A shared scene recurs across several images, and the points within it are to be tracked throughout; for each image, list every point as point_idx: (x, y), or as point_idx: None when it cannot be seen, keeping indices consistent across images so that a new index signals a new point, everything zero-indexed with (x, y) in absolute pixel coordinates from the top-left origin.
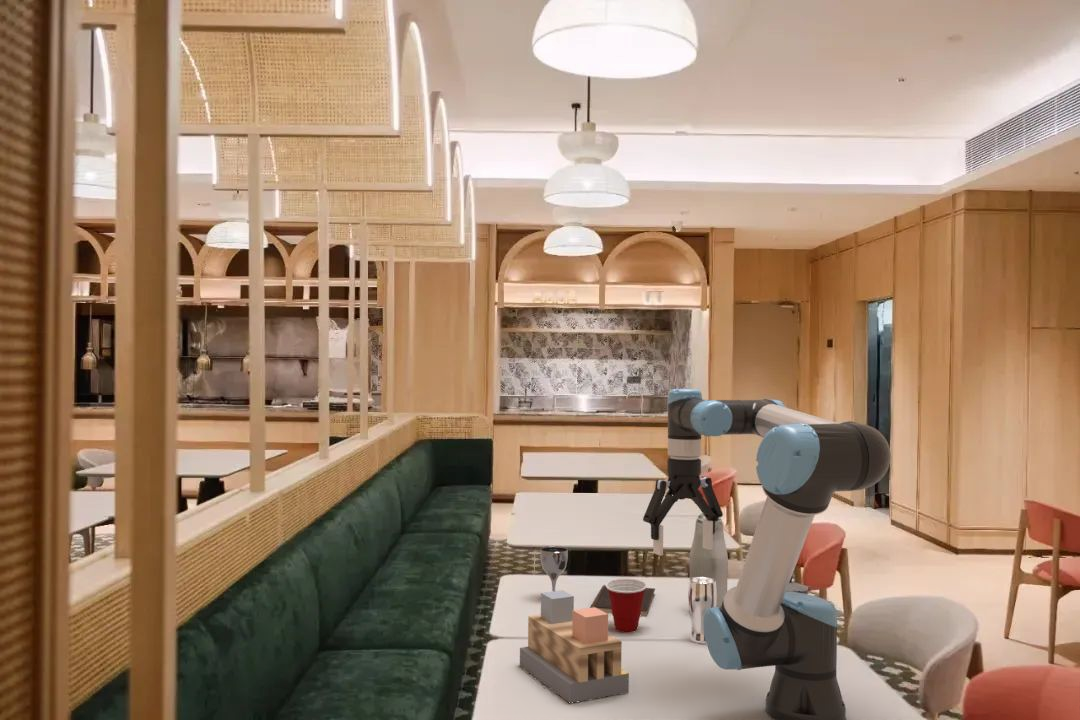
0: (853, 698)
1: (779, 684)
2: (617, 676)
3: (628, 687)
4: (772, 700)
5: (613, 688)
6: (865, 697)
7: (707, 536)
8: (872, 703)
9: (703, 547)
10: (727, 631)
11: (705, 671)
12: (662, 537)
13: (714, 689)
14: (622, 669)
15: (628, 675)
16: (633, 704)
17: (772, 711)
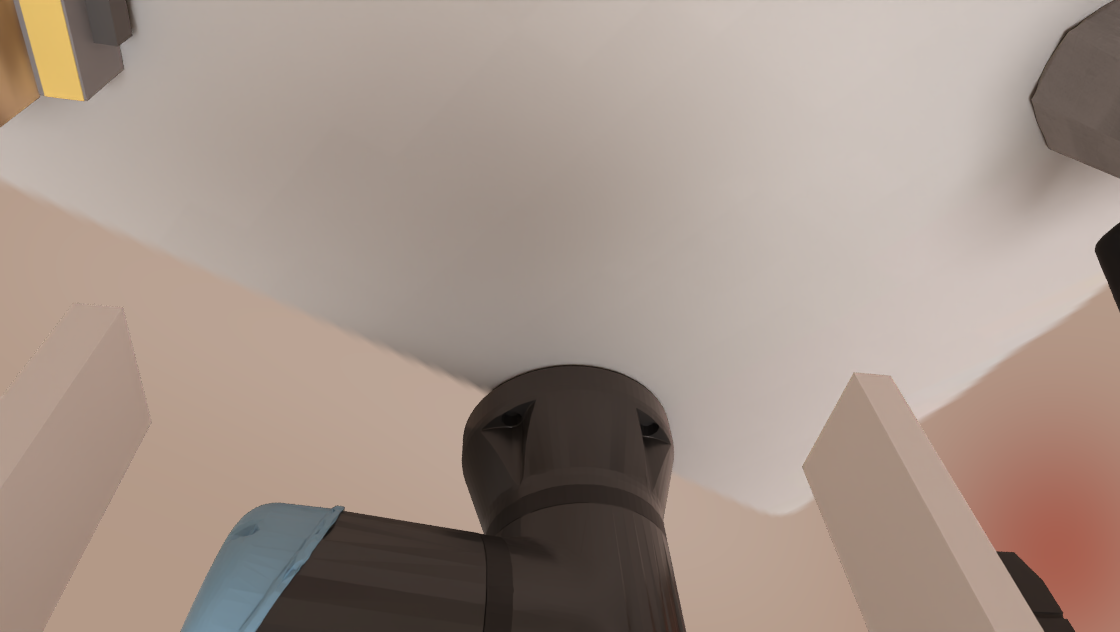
0: (763, 439)
1: (481, 503)
2: None
3: (113, 76)
4: (470, 454)
5: None
6: (794, 448)
7: (874, 562)
8: (767, 471)
9: (848, 388)
10: None
11: (584, 71)
12: (33, 621)
13: (473, 219)
14: (73, 43)
15: (89, 96)
16: (96, 167)
17: (464, 438)
